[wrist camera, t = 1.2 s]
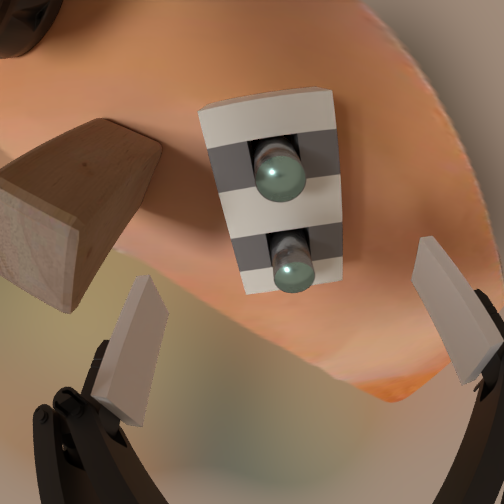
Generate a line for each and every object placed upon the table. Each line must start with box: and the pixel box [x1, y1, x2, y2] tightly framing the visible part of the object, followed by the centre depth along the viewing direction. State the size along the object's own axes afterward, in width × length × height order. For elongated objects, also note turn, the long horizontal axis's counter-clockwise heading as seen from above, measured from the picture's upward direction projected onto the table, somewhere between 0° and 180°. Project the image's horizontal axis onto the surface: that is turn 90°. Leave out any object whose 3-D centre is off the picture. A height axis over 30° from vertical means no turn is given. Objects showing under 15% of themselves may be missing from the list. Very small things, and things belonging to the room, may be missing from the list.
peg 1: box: [254, 136, 307, 203], centre depth 24 cm, size 4×4×7 cm
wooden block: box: [0, 118, 162, 314], centre depth 24 cm, size 10×10×20 cm
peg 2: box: [270, 228, 315, 293], centre depth 30 cm, size 4×4×7 cm
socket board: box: [198, 87, 343, 295], centre depth 31 cm, size 22×12×7 cm, turn 11°
